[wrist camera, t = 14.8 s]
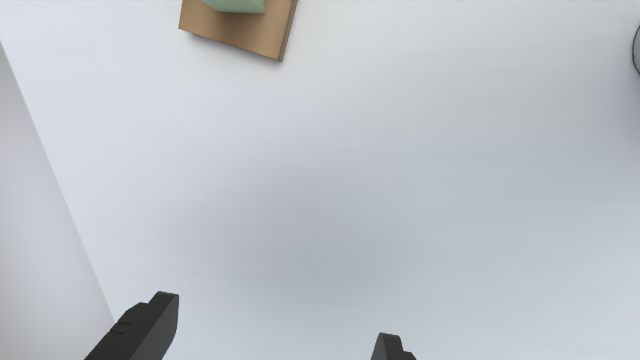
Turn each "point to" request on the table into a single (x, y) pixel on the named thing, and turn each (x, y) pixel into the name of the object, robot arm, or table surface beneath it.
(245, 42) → the plinth
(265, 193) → the table surface
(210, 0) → the pillar
